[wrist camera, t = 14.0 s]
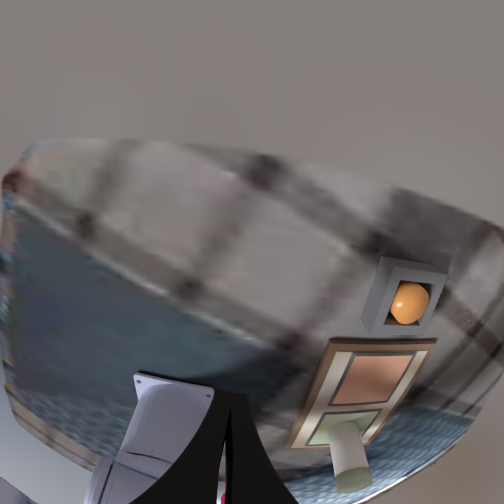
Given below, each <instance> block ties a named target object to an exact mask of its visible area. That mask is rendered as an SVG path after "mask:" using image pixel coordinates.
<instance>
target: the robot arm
mask: <svg viewBox="0 0 504 504" xmlns="http://www.w3.org/2000/svg"><path fill="white" fill-rule="evenodd" d="M139 380H140V381H139ZM134 381H135V386H136V391H137V396H138V401H139V402H138V404H137V407H136V409H135V412H134V414H133V417H132V419H131V422H130V425H129V427H128V430H127V432H126V435H125V438H124V440H123V443H122V446H121V448H120V450H119V451H118V454H117V456H116V459H115V461H113V458H114V457H111V456H109V455H107V456H106V457H102V458H100V459H99V461H98V463H97V465H96V467H95V470H94V472H93V475H92V477H91V480H90V483H89V486H88V489H87V492H86V495H85V499H84V504H217V503H216V500H217V488H218V477H219V467H220V462H221V457H222V452H223V448H224V443H225V452H226V490H225V501H224V504H299V503H298V502H297V501H296V499H295V498H294V497H293V496H292V494H291V493H290V492H289V490H288V489H287V488H286V486H285V485H284V483H283V482H282V480H281V479H280V477H279V476H278V474H277V472H276V471H275V469H274V467H273V466H272V464H271V462H270V460H269V458H268V456H267V454H266V452H265V449H264V447H263V445H262V443H261V440H260V438H259V435H258V432H257V429H256V427H255V424H254V420H253V417H252V413H251V409H250V404H249V396H248V395H247V394H240V393H232V392H224V391H215V392H214V389H213V388H212V387H207V386H201V385H195V384H189V383H184V382H178V381H173V380H168V379H164V378H159V377H155V376H150V375H146V374H142V373H135V374H134ZM208 394H209V395H208ZM0 504H38V503H36V502H35V501H33V500H31V499H30V498H28V496H26V495H25V494H23V493H22V492H21V491H19V490H18V489H17V488H15V487H13V486H12V485H11V484H9V483H8V482H7V481H6V480H4V479H3V478H2V477H0Z"/></svg>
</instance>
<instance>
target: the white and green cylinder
mask: <svg viewBox="0 0 504 504" xmlns="http://www.w3.org/2000/svg"><path fill="white" fill-rule="evenodd" d="M328 438H329V443H330V449H331V455H332V461H333V467H334V473H335V482H336V489H337V493H339V494H347V493H352V492H356V491H359V490H362V489H365V488H367V487H368V486H370V485H371V484H372V483H373V481H372V477H371V472H370V469H369V466H368V462H367V458H366V455H365V451H364V447H363V443H362V439H361V436H360V432H359V428H358V425H357V424H356V423H355V422H344V423H340V424H337V425H335V426H333V427H332V428H331V429H330V430H329V431H328Z"/></svg>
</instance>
